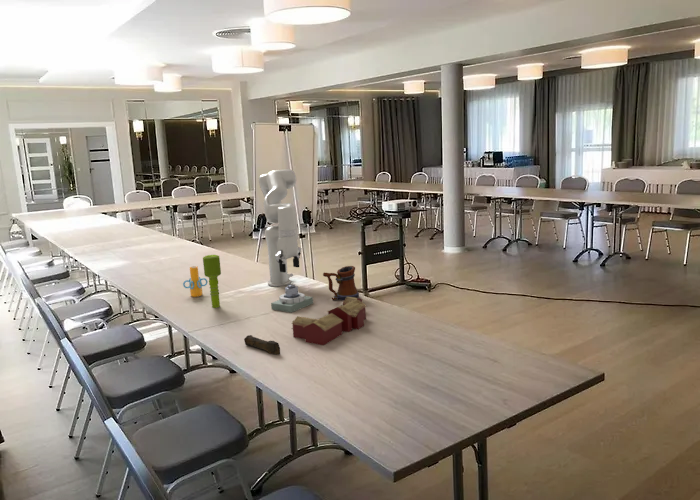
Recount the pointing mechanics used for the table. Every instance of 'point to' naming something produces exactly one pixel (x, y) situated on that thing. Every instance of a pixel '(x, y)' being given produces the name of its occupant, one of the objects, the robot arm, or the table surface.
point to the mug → (343, 283)
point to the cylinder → (195, 282)
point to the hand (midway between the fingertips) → (289, 269)
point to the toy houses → (331, 322)
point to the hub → (291, 291)
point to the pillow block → (291, 303)
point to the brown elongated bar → (263, 344)
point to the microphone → (213, 276)
